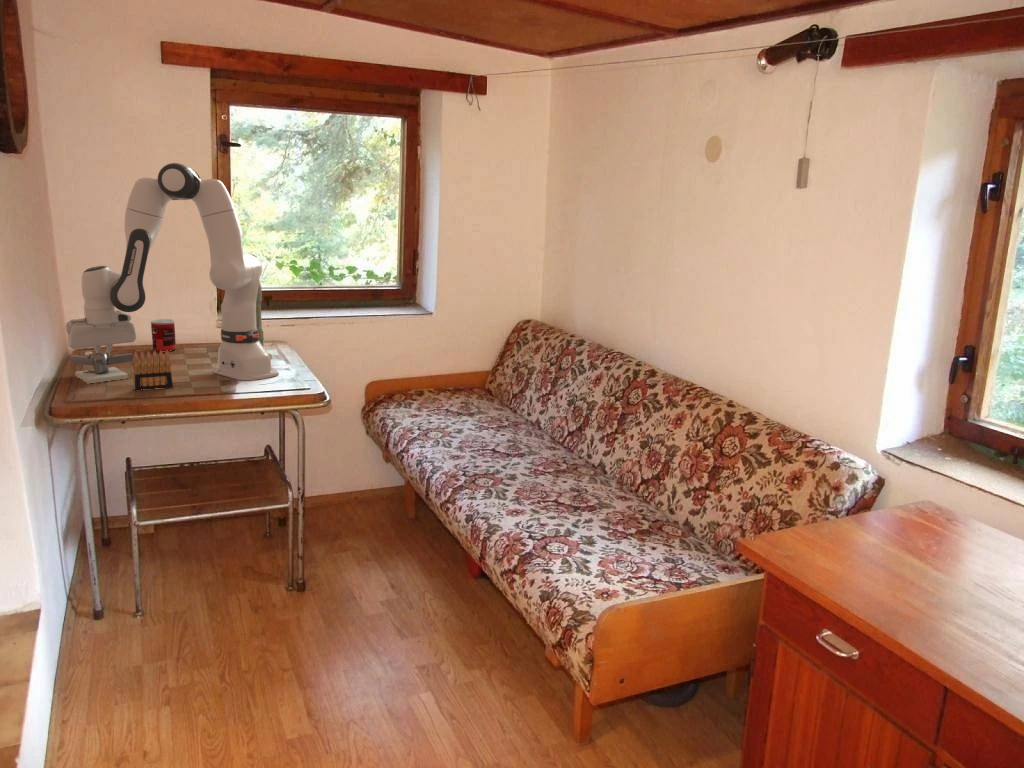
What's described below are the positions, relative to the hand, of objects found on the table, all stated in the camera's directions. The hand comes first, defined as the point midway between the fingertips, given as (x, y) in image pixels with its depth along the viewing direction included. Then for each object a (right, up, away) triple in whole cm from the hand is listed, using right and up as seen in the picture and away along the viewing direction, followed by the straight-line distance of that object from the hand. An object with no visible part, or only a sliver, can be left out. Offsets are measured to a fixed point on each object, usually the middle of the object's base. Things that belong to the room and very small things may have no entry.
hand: (104, 358), depth 266 cm
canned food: (+5, +4, +35) cm, 36 cm away
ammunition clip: (+23, -10, -15) cm, 29 cm away
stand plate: (+2, -6, -5) cm, 8 cm away
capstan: (0, -4, -5) cm, 7 cm away
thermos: (+33, +6, +47) cm, 58 cm away
